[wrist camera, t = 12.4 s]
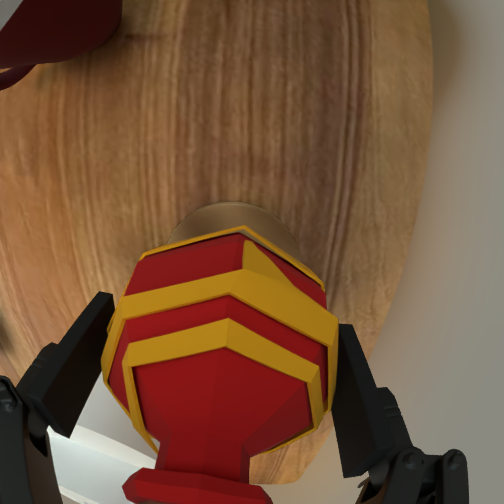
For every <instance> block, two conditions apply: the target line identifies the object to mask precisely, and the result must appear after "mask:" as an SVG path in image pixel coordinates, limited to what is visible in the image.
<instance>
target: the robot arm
mask: <svg viewBox="0 0 504 504" xmlns="http://www.w3.org/2000/svg"><path fill="white" fill-rule="evenodd" d="M114 311H115V306H114V300H113V294H110V293H105V292H101V291H99V292H98V293H97V294H96V296H95V297H94V298H93V299H92V301H91V302H90V303H89V304H88V306H87V307H86V308H85V309H84V311H83V312H82V313H81V315H80V316H79V317H78V318H77V320H76V321H75V322H74V324H73V325H72V326H71V328H70V329H69V330H68V332H67V333H66V334H65V336H64V337H63V338H62V340H61V341H60V342H59V344H55V343H52V342H51V343H50V344H48V345H47V346H45V347H44V348H43V349H42V350H41V351H40V353H39V354H38V356H37V358H35V360H34V361H33V363H32V365H30V367H29V368H28V370H27V371H26V373H25V374H24V376H23V377H22V379H21V380H20V382H19V383H18V385H17V386H16V387H14V385H13V384H12V382H11V381H10V379H9V378H7V377H6V376H2V375H0V504H63V502H62V498H61V494H60V491H59V487H58V482H57V478H56V474H55V469H54V464H53V458H52V452H51V446H50V438H49V434H48V432H47V428H48V426H50V427H51V428H52V429H53V431H54V432H56V433H58V434H60V435H62V436H64V437H66V438H68V439H70V437H71V434H72V432H73V430H74V427H75V425H76V423H77V421H78V419H79V416H80V414H81V412H82V410H83V408H84V406H85V404H86V402H87V400H88V398H89V396H90V393H91V391H92V389H93V387H94V385H95V383H96V381H97V379H98V378H99V376H100V374H101V372H102V366H101V357H102V354H103V351H104V347H105V344H106V341H107V338H108V333H107V327H108V325H109V323H110V320H111V318H112V316H113V314H114ZM331 412H332V417H333V422H334V427H335V431H336V437H337V442H338V448H339V454H340V459H341V464H342V471H343V477H344V478H349V477H355V476H361V475H363V474H364V473H365V472H367V471H368V473H369V477H368V478H367V479H365V480H364V481H362V482H361V483H360V484H359V485H358V488H360V487H362V486H363V485H364V486H363V488H362V490H361V493H360V495H359V497H358V499H357V501H356V503H355V504H469V486H468V471H467V461H466V457H465V455H464V454H463V453H462V452H461V451H460V450H457V449H451V450H449V451H448V452H447V453H445V454H444V455H426V454H424V453H423V452H422V451H421V449H418V448H417V447H414V446H413V444H412V442H411V440H410V437H409V434H408V431H407V428H406V425H405V423H404V420H403V417H402V416H401V412H400V409H399V408H398V404H397V402H396V399H395V396H394V395H393V394H392V393H391V391H390V390H389V389H388V388H387V387H383V388H377V387H376V384H375V382H374V379H373V376H372V374H371V371H370V368H369V366H368V363H367V360H366V358H365V355H364V353H363V350H362V348H361V345H360V343H359V340H358V338H357V335H356V333H355V330H354V328H353V326H352V324H338V357H337V376H336V389H335V393H334V398H333V403H332V407H331Z"/></svg>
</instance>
